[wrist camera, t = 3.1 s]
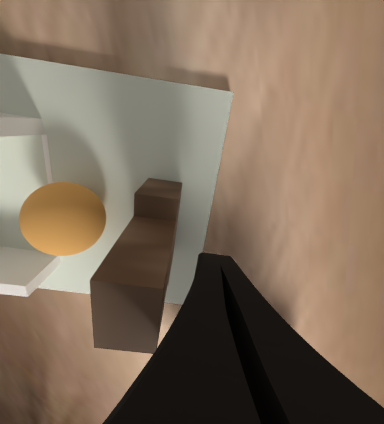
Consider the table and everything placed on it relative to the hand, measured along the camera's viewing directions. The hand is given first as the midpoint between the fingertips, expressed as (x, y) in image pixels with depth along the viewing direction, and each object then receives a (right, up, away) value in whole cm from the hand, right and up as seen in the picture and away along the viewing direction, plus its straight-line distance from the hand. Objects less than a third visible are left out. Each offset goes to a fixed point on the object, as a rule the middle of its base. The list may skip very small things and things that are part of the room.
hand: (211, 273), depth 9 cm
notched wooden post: (-3, +2, +4) cm, 5 cm away
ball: (-8, +2, +3) cm, 8 cm away
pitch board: (-7, +3, +5) cm, 9 cm away
